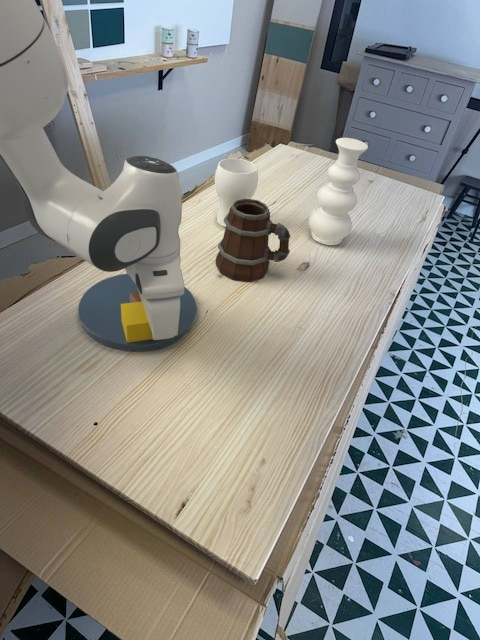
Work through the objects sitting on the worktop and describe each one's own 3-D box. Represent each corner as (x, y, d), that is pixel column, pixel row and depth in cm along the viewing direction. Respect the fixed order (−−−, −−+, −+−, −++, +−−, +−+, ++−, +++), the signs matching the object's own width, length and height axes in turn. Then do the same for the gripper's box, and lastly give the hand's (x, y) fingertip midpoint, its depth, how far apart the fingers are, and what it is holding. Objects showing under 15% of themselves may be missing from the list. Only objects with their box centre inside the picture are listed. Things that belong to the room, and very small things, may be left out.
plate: (85, 360, 78) (85, 354, 77) (73, 284, 94) (73, 278, 93) (210, 341, 86) (211, 335, 85) (180, 273, 101) (180, 268, 100)
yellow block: (127, 343, 80) (126, 325, 78) (121, 321, 85) (120, 303, 82) (178, 335, 84) (178, 318, 81) (170, 314, 88) (170, 297, 85)
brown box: (140, 313, 87) (140, 304, 86) (129, 301, 89) (129, 293, 88) (158, 306, 89) (159, 297, 88) (147, 295, 91) (147, 286, 90)
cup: (231, 208, 128) (238, 154, 118) (259, 224, 122) (268, 169, 113) (202, 218, 121) (207, 161, 112) (230, 235, 116) (237, 178, 107)
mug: (208, 273, 102) (214, 211, 93) (227, 248, 112) (234, 189, 102) (276, 293, 100) (290, 231, 90) (290, 265, 109) (303, 207, 99)
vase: (328, 254, 115) (356, 154, 99) (296, 234, 121) (318, 137, 105) (355, 243, 121) (385, 147, 105) (323, 224, 127) (348, 131, 111)
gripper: (121, 227, 81) (124, 291, 90) (145, 298, 67) (146, 365, 76) (157, 225, 83) (157, 287, 92) (187, 293, 69) (184, 359, 78)
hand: (152, 323), depth 84 cm, fingers closed on yellow block, 6 cm apart
